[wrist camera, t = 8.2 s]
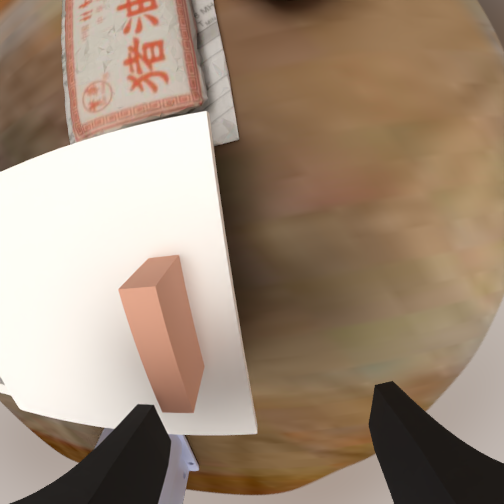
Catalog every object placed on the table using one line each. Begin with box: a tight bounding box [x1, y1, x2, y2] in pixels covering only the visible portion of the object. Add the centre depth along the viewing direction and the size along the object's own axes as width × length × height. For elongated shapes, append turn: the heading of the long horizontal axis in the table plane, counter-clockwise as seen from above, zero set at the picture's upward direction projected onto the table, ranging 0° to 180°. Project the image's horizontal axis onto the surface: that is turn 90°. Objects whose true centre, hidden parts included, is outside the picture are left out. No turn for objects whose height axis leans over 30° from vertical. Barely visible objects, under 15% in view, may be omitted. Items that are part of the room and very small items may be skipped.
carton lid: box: [0, 111, 257, 435], centre depth 11 cm, size 15×17×3 cm
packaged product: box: [61, 0, 239, 146], centre depth 12 cm, size 18×5×10 cm
